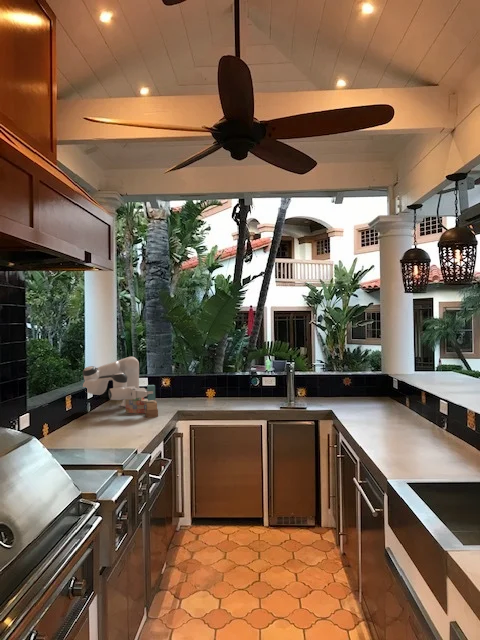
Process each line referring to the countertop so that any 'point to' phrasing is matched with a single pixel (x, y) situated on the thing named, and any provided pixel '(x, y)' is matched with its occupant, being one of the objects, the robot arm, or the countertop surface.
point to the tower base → (151, 413)
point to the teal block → (151, 388)
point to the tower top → (151, 405)
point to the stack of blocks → (136, 405)
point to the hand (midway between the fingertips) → (152, 391)
